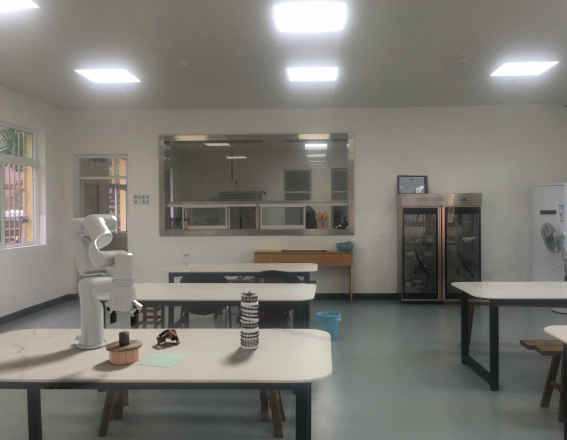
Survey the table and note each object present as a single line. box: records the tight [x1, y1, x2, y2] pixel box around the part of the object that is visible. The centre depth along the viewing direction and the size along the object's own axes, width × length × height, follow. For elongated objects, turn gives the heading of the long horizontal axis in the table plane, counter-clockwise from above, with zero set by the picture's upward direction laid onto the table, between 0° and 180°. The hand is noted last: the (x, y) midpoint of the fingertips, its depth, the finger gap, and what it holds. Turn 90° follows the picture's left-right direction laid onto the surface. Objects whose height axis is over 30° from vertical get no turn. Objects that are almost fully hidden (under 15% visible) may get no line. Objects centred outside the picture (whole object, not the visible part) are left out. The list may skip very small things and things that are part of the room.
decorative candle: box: [238, 290, 260, 350], centre depth 195 cm, size 9×9×25 cm
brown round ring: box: [156, 328, 181, 346], centre depth 199 cm, size 12×10×8 cm
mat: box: [136, 351, 189, 368], centre depth 177 cm, size 15×15×1 cm
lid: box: [105, 330, 143, 353], centre depth 176 cm, size 14×14×6 cm
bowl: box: [109, 348, 140, 366], centre depth 176 cm, size 11×11×6 cm
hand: (123, 324), depth 177 cm, fingers open, 9 cm apart
